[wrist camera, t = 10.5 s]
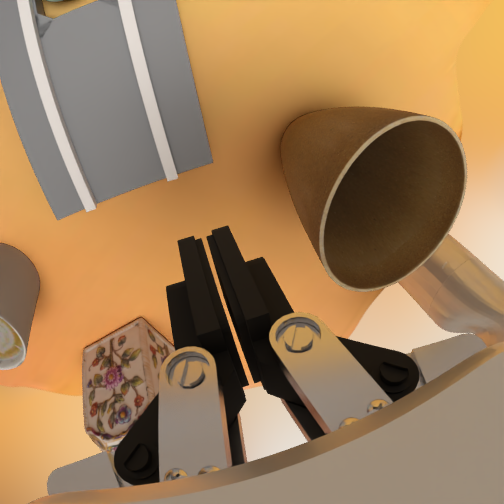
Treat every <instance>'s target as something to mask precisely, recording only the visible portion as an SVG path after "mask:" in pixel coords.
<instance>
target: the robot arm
mask: <svg viewBox="0 0 504 504" xmlns="http://www.w3.org/2000/svg"><path fill="white" fill-rule="evenodd" d="M207 240H208V244H209V248H210V251H211V255H212V258H213V262H214V265H215V268H216V272H217V275H218V279H219V282H220V286H221V289H222V292H223V296H224V299H225V302H226V305H227V308H228V311H229V314H230V317H231V319H232V322H233V325H234V328H235V331H236V334H237V336H238V339H239V342H240V345H241V348H242V351H243V353H244V356H245V359H246V362H247V364H248V367H249V370H250V372H251V375H252V378H253V381H254V383H257V382H260V381H261V383H262V385H263V388H264V390H266V391H267V393H268V394H270V395H273V396H276V397H279V398H281V401H282V403H283V404H284V406H285V407H286V409H287V411H288V412H289V414H290V415H291V417H292V418H293V420H294V421H295V423H296V424H297V426H298V427H299V429H300V430H301V432H302V433H303V435H304V436H305V438H306V439H307V441H308V442H307V443H304V444H301V445H299V446H296V447H293V448H290V449H288V450H285V451H282V452H279V453H276V454H273V455H270V456H267V457H264V458H261V459H258V460H254V461H251V462H248V463H247V457H246V451H245V445H244V438H243V432H242V426H241V418H240V414H239V411H240V410H241V408H242V407H243V405H244V403H245V402H246V398H245V393H244V390H243V387H244V386H248V385H249V383H248V380H247V378H246V375H245V372H244V369H243V366H242V363H241V360H240V357H239V354H238V351H237V348H236V345H235V342H234V339H233V335H232V332H231V329H230V326H229V323H228V320H227V317H226V314H225V311H224V308H223V305H222V302H221V299H220V296H219V293H218V290H217V287H216V284H215V280H214V277H213V274H212V271H211V268H210V265H209V261H208V258H207V255H206V252H205V249H204V245H203V242H202V239H201V238H200V239H197V240H195V238H194V236H191V237H188V238H185V239H181V240H178V246H179V251H180V257H181V262H182V267H183V272H184V277H185V281H182V282H179V283H176V284H172V285H169V286H167V287H166V292H167V300H168V307H169V314H170V321H171V327H172V334H173V340H174V346H175V351H174V352H173V353H171V354H170V355H169V356H168V357H167V358H166V359H165V360H164V362H163V364H162V365H161V369H160V373H159V392H158V394H157V395H156V396H155V398H154V399H153V400H152V402H151V403H150V404H149V406H148V407H147V408H146V410H145V411H144V412H143V413H142V415H141V416H140V417H139V419H138V420H137V421H136V423H135V424H134V425H133V426H132V428H131V429H130V430H129V432H128V433H127V434H126V436H125V437H124V438H123V439H122V441H121V442H120V443H119V445H118V447H117V448H116V450H115V451H112V452H110V453H109V452H108V451H104V452H102V453H99V454H96V455H94V456H91V457H88V458H86V459H83V460H80V461H77V462H75V463H72V464H69V465H66V466H63V467H60V468H57V469H56V470H54V471H53V472H52V473H51V474H50V476H49V478H48V482H47V489H48V494H49V496H45V497H42V498H39V499H36V500H34V501H32V502H30V503H28V504H504V281H503V280H502V279H500V278H499V277H498V276H497V275H496V274H495V273H494V272H492V271H491V270H490V269H489V268H488V267H487V266H486V265H484V264H483V263H482V262H481V261H480V260H479V259H478V258H477V257H475V256H474V255H473V254H472V253H471V252H470V251H468V250H467V249H466V248H465V247H464V246H463V245H461V244H460V243H459V242H458V241H457V240H455V239H454V238H453V237H452V236H451V235H449V234H447V236H446V237H445V239H444V240H443V242H442V243H441V245H440V246H439V247H438V249H437V250H436V251H435V252H434V253H433V254H432V255H431V257H430V258H429V259H427V260H426V261H425V262H424V263H423V264H422V265H421V266H420V267H419V268H417V269H416V270H415V271H414V272H412V273H411V274H410V275H408V276H407V277H405V278H404V279H402V280H401V281H399V282H398V283H399V284H400V285H401V286H402V287H403V288H404V289H405V290H406V291H407V292H408V293H409V294H410V296H412V297H413V299H414V300H415V301H416V302H417V303H418V304H419V305H420V307H421V308H422V309H423V310H424V311H425V312H426V313H427V314H428V315H429V317H430V318H431V319H432V320H433V321H434V322H435V323H436V324H437V325H438V326H439V327H440V328H442V329H444V330H446V331H449V332H454V333H455V332H456V333H468V334H461V335H459V336H455V337H452V338H449V339H446V340H443V341H440V342H436V343H433V344H430V345H426V346H422V347H419V348H416V349H413V350H412V352H411V353H408V354H404V353H401V352H398V351H394V350H390V349H386V348H381V347H377V346H373V345H369V344H364V343H361V342H356V341H353V340H349V339H345V338H341V337H338V336H335V335H334V334H333V333H332V332H331V330H330V329H329V328H328V327H327V326H326V325H325V324H324V322H323V321H322V320H320V319H319V318H318V317H317V316H314V315H312V314H309V313H303V312H298V313H294V311H293V309H292V308H291V306H290V304H289V302H288V300H287V299H286V297H285V295H284V293H283V291H282V290H281V288H280V286H279V284H278V282H277V281H276V279H275V277H274V275H273V273H272V272H271V270H270V268H269V266H268V264H267V263H266V261H265V259H264V258H263V257H260V258H257V259H254V260H250V261H247V262H245V261H244V259H243V257H242V255H241V252H240V250H239V248H238V246H237V244H236V242H235V240H234V237H233V235H232V233H231V231H230V229H229V227H228V226H225V227H221V228H218V229H214V230H212V235H210V236H207ZM469 333H473V334H469ZM474 334H475V335H474Z"/></svg>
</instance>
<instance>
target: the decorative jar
mask: <svg viewBox="0 0 504 504" xmlns="http://www.w3.org/2000/svg"><path fill="white" fill-rule="evenodd" d="M174 351H175V347H174V346H173V345H172V344H170V343H169V342H168V341H167V340H166V339H165V338H164V337H163V336H162V335H160V334H159V333H158V332H157V331H156V330H155V329H154V328H153V327H152V326H151V325H149V324H148V323H147V322H146V321H145V320H144V319H143V318H139V319H137V320H135V321H133V322H132V323H130V324H128V325H126V326H124V327H122V328H120V329H119V330H117V331H115V332H113V333H111V334H110V335H108V336H106V337H104V338H103V339H101V340H99V341H97V342H96V343H94V344H92V345H90V346H88V347H86V348H85V349H84V351H83V361H82V362H83V363H82V385H83V386H82V387H83V415H84V426H85V431H86V433H87V434H88V435H89V437H90V438H91V439H92V441H93V442H94V443H95V444H96V445H97V446H98V447H99V448H100V449H101V451H102V452H104V451H108V452H109V453H110V452H112V451H115V450H116V448H117V447H118V445H119V443H120V442H121V441H122V439H123V438H124V437H125V436H126V434H127V433H128V432H129V430H130V429H131V428H132V426H133V425H134V424H135V423H136V421H137V420H138V419H139V417H140V416H141V415H142V413H143V412H144V411H145V410H146V408H147V407H148V406H149V404H150V403H151V402H152V400H153V399H154V398H155V396H156V395H157V394H158V392H159V373H160V369H161V365H162V364H163V362H164V360H165V359H166V358H167V357H168V356H169V355H170V354H171V353H173V352H174Z"/></svg>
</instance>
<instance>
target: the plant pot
mask: <svg viewBox="0 0 504 504" xmlns="http://www.w3.org/2000/svg"><path fill="white" fill-rule="evenodd" d="M281 159H282V165H283V170H284V174H285V178H286V182H287V185H288V189H289V192H290V195H291V198H292V200H293V203H294V206H295V208H296V211H297V213H298V215H299V218H300V220H301V222H302V225H303V227H304V229H305V231H306V233H307V235H308V237H309V239H310V241H311V243H312V245H313V247H314V249H315V251H316V253H317V255H318V257H319V259H320V261H321V263H322V264H323V266H324V268H325V270H326V272H327V273H328V275H329V276H330V278H331V279H332V280H333V281H334V282H335V283H337V284H338V285H340V286H341V287H343V288H345V289H348V290H352V291H358V292H368V291H374V290H378V289H382V288H385V287H388V286H391V285H392V284H395V283H397V282H399V281H401V280H402V279H404V278H405V277H407V276H408V275H410V274H411V273H412V272H414V271H415V270H416V269H417V268H419V267H420V266H421V265H422V264H423V263H424V262H425V261H426V260H427V259H429V258H430V257H431V255H432V254H433V253H434V252H435V251H436V250H437V249H438V247H439V246H440V245H441V243H442V242H443V240H444V239H445V237H446V236H447V234H448V233H449V231H450V229H451V228H452V226H453V224H454V222H455V219H456V218H457V216H458V213H459V211H460V208H461V205H462V202H463V198H464V195H465V189H466V182H467V164H466V157H465V153H464V149H463V146H462V143H461V141H460V139H459V138H458V136H457V135H456V133H455V132H454V131H453V130H452V129H451V128H450V127H449V126H448V125H447V124H446V123H444V122H443V121H441V120H439V119H436V118H434V117H430V116H426V115H421V114H417V113H412V112H407V111H400V110H394V109H387V108H376V107H339V108H331V109H325V110H320V111H316V112H312V113H309V114H306V115H303V116H301V117H299V118H297V119H296V120H294V121H293V122H292V123H291V124H290V125H289V126H288V128H287V129H286V131H285V133H284V135H283V137H282V141H281Z"/></svg>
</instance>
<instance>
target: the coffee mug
mask: <svg viewBox="0 0 504 504" xmlns="http://www.w3.org/2000/svg"><path fill="white" fill-rule="evenodd" d="M39 290H40V279H39V275H38V272H37V270H36V268H35V266H34V265H33V263H32V262H31V261H30V259H29V258H28V257H27V256H26V255H25V254H23V253H22V252H21V251H20V250H18V249H16V248H14V247H13V246H10V245H7V244H3V243H0V370H7V369H13V368H15V367H18V366H19V365H20V364H22V362H23V361H24V359H25V357H26V353H27V347H28V341H29V335H30V330H31V325H32V320H33V316H34V311H35V307H36V302H37V298H38V294H39Z"/></svg>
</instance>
